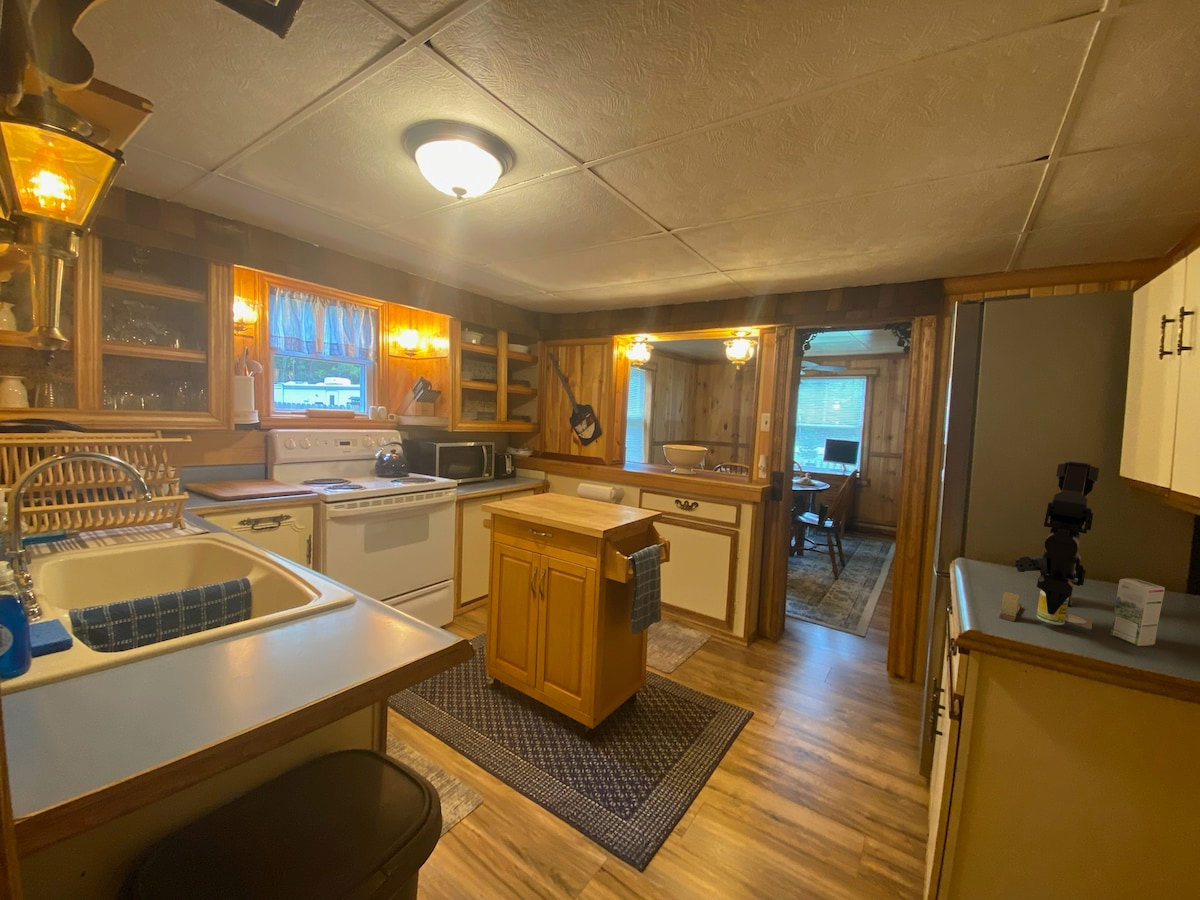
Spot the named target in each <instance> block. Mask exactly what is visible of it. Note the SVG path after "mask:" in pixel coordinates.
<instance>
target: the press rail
mask: <svg viewBox="0 0 1200 900" xmlns="http://www.w3.org/2000/svg"><path fill="white" fill-rule="evenodd" d="M1021 608H1022V603H1019V602H1018V609H1017V614H1016V616H1015V617H1014V616H1010V615H1006V614H1003V613H1001V612H1000V614H999V619H1002V618H1003V619H1002V620H1006V621H1009V620H1010V621H1009V622H1013V623H1015V621H1016V619H1017V617H1018V615H1019V613H1020V610H1021Z"/></svg>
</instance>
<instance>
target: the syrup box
mask: <svg viewBox="0 0 1200 900" xmlns="http://www.w3.org/2000/svg"><path fill="white" fill-rule="evenodd" d="M1165 590H1166V587H1164V586H1161V585H1158V584H1155V583H1151V582H1148V581H1145V580H1141V579H1139V578H1130V577H1129V578H1121V579H1119V582H1118V588H1117V593H1116V599H1115V605H1114V609H1113V617H1112V621H1111V626H1110V627H1111V629H1110V632H1109V635H1110V636H1111V637H1114V638H1118V639H1120V640H1122V641H1124V642H1127V643H1130V644H1132V645H1135V646H1137V647H1138V646H1139V647H1140V646H1141V647H1142V646H1143V647H1144V646H1154V645H1155V644H1156V638H1157V631H1158V626H1159V622H1160V621H1159V620H1160V615H1161V610H1162V606H1163V601H1164V596H1165Z"/></svg>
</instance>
